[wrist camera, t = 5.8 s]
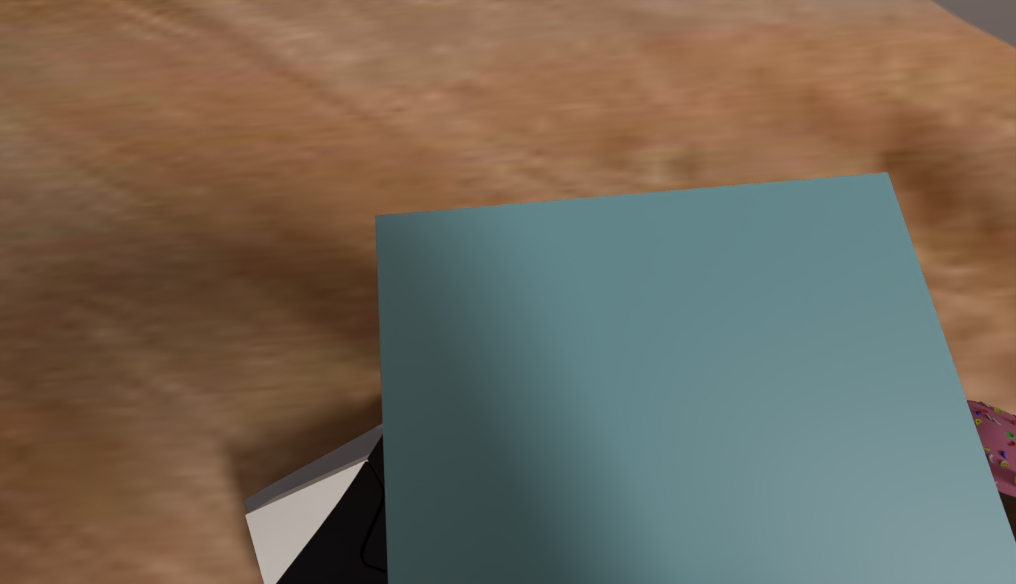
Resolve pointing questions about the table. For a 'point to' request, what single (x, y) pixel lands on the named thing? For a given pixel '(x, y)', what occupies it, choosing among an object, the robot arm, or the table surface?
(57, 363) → the table surface
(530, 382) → the teal pillar
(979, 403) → the cupcake
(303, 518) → the tower top slab
